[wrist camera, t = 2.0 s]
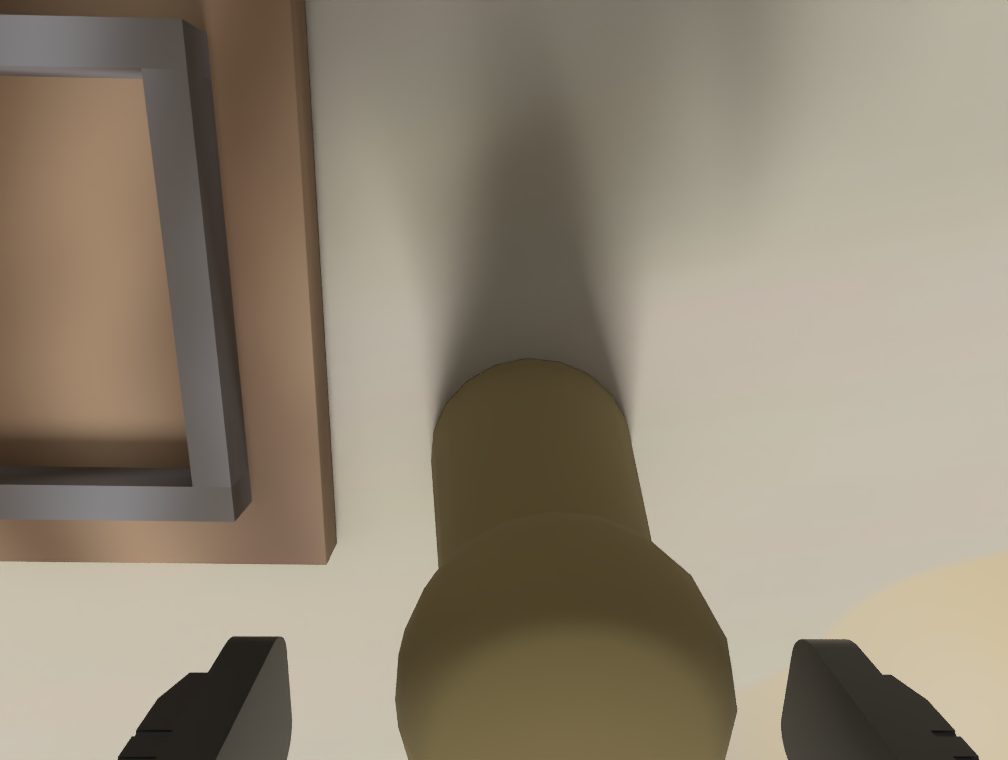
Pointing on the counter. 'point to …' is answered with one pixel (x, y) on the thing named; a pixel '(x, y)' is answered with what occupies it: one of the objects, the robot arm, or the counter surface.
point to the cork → (554, 591)
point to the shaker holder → (160, 286)
